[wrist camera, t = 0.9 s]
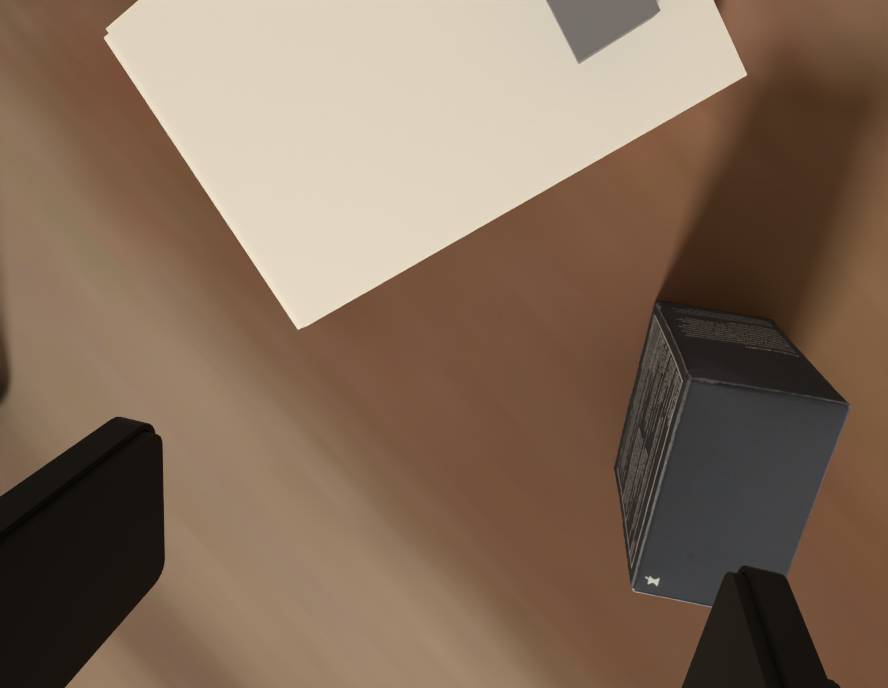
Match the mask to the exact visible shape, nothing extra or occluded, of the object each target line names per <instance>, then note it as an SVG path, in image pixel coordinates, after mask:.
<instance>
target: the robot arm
mask: <svg viewBox="0 0 888 688" xmlns="http://www.w3.org/2000/svg"><path fill="white" fill-rule="evenodd" d="M164 561H165V548H164V498H163V448H162V439H161V437H160V436H159V435H157V434H155V430H154V428H153V426H152V425H150V424H148V423H144V422H140V421H136V420H132V419H127V418H123V417H115V418H113V419H111V420H110V421H108V422H107V423H105V424H104V425H102V426H101V427H100V428H98V429H97V430H95V431H94V432H92V433H91V434H90V435H88V436H87V437H85V438H84V439H82V440H81V441H79V442H78V443H77V444H75V445H74V446H72V447H71V448H69V449H68V450H67V451H65V452H64V453H62V454H61V455H59V456H58V457H57V458H55V459H54V460H52V461H51V462H49V463H48V464H46V465H45V466H44V467H42V468H41V469H39V470H38V471H36V472H35V473H34V474H32V475H31V476H29V477H28V478H26V479H25V480H24V481H22V482H21V483H19V484H18V485H16V486H15V487H13V488H12V489H11V490H9V491H8V492H6V493H5V494H3V495H2V496H1V497H0V688H65V687H66V685H67V684H68V683H69V682H70V681H71V680H72V679H73V677H74V676H75V675H76V674H77V673H78V672H79V671H80V669H81V668H82V667H83V666H84V665H85V664H86V663H87V661H88V660H89V659H90V658H91V657H92V656H93V654H94V653H95V652H96V651H97V650H98V649H99V648H100V646H101V645H102V644H103V643H104V642H105V641H106V640H107V638H108V637H109V636H110V635H111V634H112V633H113V631H114V630H115V629H116V628H117V627H118V626H119V625H120V623H121V622H122V621H123V620H124V619H125V618H126V617H127V615H128V614H129V613H130V612H131V611H132V610H133V609H134V607H135V606H136V605H137V604H138V603H139V602H140V600H141V599H142V598H143V597H144V596H145V595H146V594H147V592H148V591H149V590H150V589H151V588H152V587H153V586H154V584H155V583H156V582H157V580H158V579H159V577H160V575H161V573H162V570H163V567H164ZM682 688H840V686H839V685H838V684H837V683H835V682H834V681H833V680H830V679H827V676H826V674H825V671H824V669H823V666H822V664H821V661H820V659H819V656H818V654H817V652H816V649H815V647H814V644H813V642H812V639H811V637H810V634H809V632H808V629H807V627H806V625H805V622H804V620H803V617H802V615H801V612H800V610H799V607H798V605H797V602H796V600H795V598H794V595H793V593H792V590H791V588H790V585H789V583H788V580H787V579H786V577H785V576H784V575H782V574H780V573H776V572H772V571H767V570H763V569H759V568H755V567H750V566H746V565H744V566H741V568H740V569H739V570H738V572H737V573H734V572H730V571H729V572H727V573H726V574H725V576H724V578H723V580H722V583H721V585H720V588H719V591H718V593H717V596H716V599H715V601H714V604H713V607H712V609H711V612H710V614H709V617H708V620H707V622H706V625H705V628H704V630H703V633H702V636H701V638H700V641H699V644H698V646H697V649H696V652H695V654H694V657H693V659H692V662H691V665H690V667H689V670H688V673H687V675H686V678H685V681H684V683H683V686H682Z"/></svg>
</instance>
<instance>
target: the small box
mask: <svg viewBox="0 0 888 688" xmlns="http://www.w3.org/2000/svg"><path fill="white" fill-rule="evenodd" d="M850 408H851V407H850V404H849V403H848V402H847V401H846V400H844V398H843V397H842V396H841V395H840V394H839V393H838V392H837V391H836V390H835V389H834V388H833V387H832V386H831V384H830V383H829V382H828V381H827V380H826V379H825V378H824V377H823V376H822V375H821V373H819V371H818V370H817V369H816V368H815V367H814V366H813V365H812V364H811V363H810V362H809V361H808V359H807V358H806V357H805V356H804V355H803V354H802V353H801V352H800V351H799V349H798V348H797V347H796V346H795V345H794V344H793V343H792V342H791V341H790V339H789V338H788V337H787V336H786V335H785V334H784V333H783V332H782V331H781V329H780V328H779V327H778V326H777V325H776V323H775V322H774V321H773V320H769V319H764V318H758V317H753V316H747V315H742V314H735V313H729V312H722V311H717V310H711V309H704V308H698V307H691V306H686V305H680V304H674V303H668V302H657V303H655V305H654V308H653V313H652V317H651V320H650V324H649V328H648V332H647V336H646V341H645V344H644V349H643V353H642V356H641V360H640V362H639V369H638V373H637V376H636V381H635V385H634V389H633V393H632V396H631V401H630V405H629V407H628V412H627V416H626V421H625V425H624V429H623V433H622V437H621V441H620V446H619V450H618V455H617V459H616V464H615V467H614V471H615V475H616V482H617V486H618V492H619V497H620V505H621V513H622V518H623V529H624V538H625V544H626V553H627V559H628V569H629V575H630V583H631V589H632V590H633V591H634V592H637V593H642V594H648V595H653V596H659V597H663V598H668V599H674V600H678V601H682V602H688V603H693V604H698V605H703V606H707V607H713V604H714V601H715V599H716V596H717V593H718V591H719V588H720V585H721V583H722V580H723V578H724V576H725V574H726V573H727V572H729V571H730V572H734V573H737V572H738V570H739V569H740V568H741V566H744V565H746V566H750V567H755V568H759V569H763V570H767V571H772V572H776V573H780V574H782V575H784V576H785V577H786V579H787V576H788V573H789V570H790V568H791V565H792V562H793V559H794V557H795V554H796V551H797V549H798V546H799V543H800V541H801V538H802V535H803V532H804V530H805V527H806V524H807V522H808V519H809V516H810V513H811V511H812V508H813V506H814V503H815V500H816V498H817V495H818V492H819V490H820V487H821V484H822V482H823V479H824V477H825V474H826V471H827V469H828V466H829V463H830V461H831V458H832V455H833V453H834V450H835V448H836V445H837V442H838V440H839V437H840V435H841V432H842V429H843V426H844V424H845V422H846V419H847V416H848V414H849V411H850Z"/></svg>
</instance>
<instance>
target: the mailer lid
mask: <svg viewBox="0 0 888 688" xmlns="http://www.w3.org/2000/svg"><path fill="white" fill-rule="evenodd" d="M106 30H107V31H108V33H109V34H108V35H106V36H105V37H104V39H105V41H106V42H107V44H108V45H109V47H110V48H111V50H112V51H113V53H114V54H115V56H116V57H117V59H118V60H119V62H120V63H121V65H122V66H123V68H124V69H125V71H126V72H127V74H128V75H129V77H130V78H131V80H132V81H133V83H134V84H135V86H136V87H137V89H138V90H139V92H140V93H141V95H142V96H143V98H144V99H145V101H146V102H147V104H148V105H149V107H150V108H151V110H152V111H153V113H154V114H155V116H156V117H157V119H158V120H159V122H160V123H161V125H162V126H163V128H164V129H165V131H166V132H167V134H168V135H169V137H170V138H171V140H172V141H173V143H174V144H175V146H176V147H177V149H178V150H179V152H180V153H181V155H182V156H183V158H184V159H185V161H186V162H187V164H188V165H189V167H190V168H191V170H192V171H193V173H194V174H195V176H196V177H197V179H198V180H199V182H200V183H201V185H202V186H203V188H204V189H205V191H206V192H207V194H208V195H209V197H210V198H211V200H212V201H213V203H214V204H215V206H216V207H217V209H218V210H219V212H220V213H221V215H222V216H223V218H224V219H225V221H226V222H227V224H228V225H229V227H230V228H231V230H232V231H233V233H234V234H235V236H236V237H237V239H238V240H239V242H240V243H241V245H242V246H243V248H244V249H245V251H246V252H247V254H248V255H249V257H250V258H251V260H252V261H253V263H254V265H255V266H256V268H257V269H258V271H259V272H260V274H261V275H262V277H263V278H264V280H265V281H266V283H267V284H268V286H269V287H270V289H271V290H272V292H273V293H274V295H275V296H276V298H277V299H278V301H279V302H280V304H281V305H282V307H283V308H284V310H285V311H286V313H287V314H288V316H289V317H290V319H291V320H292V322H293V323H294V325H295V326H296V328H297V329H298V330H299V329H300V328H302V327H306V326H308V325H309V324H311V323H313V322H315V321H316V320H318V319H320V318H322V317H323V316H325V315H327V314H329V313H331V312H332V311H334V310H336V309H338V308H339V307H341V306H343V305H345V304H346V303H348V302H350V301H352V300H353V299H355V298H357V297H359V296H360V295H362V294H364V293H366V292H367V291H369V290H371V289H373V288H374V287H376V286H378V285H380V284H381V283H383V282H385V281H387V280H388V279H390V278H392V277H394V276H395V275H397V274H399V273H401V272H402V271H404V270H406V269H408V268H409V267H411V266H413V265H415V264H416V263H418V262H420V261H422V260H423V259H425V258H427V257H429V256H430V255H432V254H434V253H436V252H438V251H439V250H441V249H443V248H445V247H446V246H448V245H450V244H452V243H453V242H455V241H457V240H459V239H460V238H462V237H464V236H466V235H467V234H469V233H471V232H473V231H474V230H476V229H478V228H480V227H481V226H483V225H485V224H487V223H488V222H490V221H492V220H494V219H495V218H497V217H499V216H501V215H502V214H504V213H506V212H508V211H509V210H511V209H513V208H515V207H516V206H518V205H520V204H522V203H523V202H525V201H527V200H529V199H530V198H532V197H534V196H536V195H537V194H539V193H541V192H543V191H545V190H546V189H548V188H550V187H552V186H553V185H555V184H557V183H559V182H560V181H562V180H564V179H566V178H567V177H569V176H571V175H573V174H574V173H576V172H578V171H580V170H581V169H583V168H585V167H587V166H588V165H590V164H592V163H594V162H595V161H597V160H599V159H601V158H602V157H604V156H606V155H608V154H609V153H611V152H613V151H615V150H616V149H618V148H620V147H622V146H623V145H625V144H627V143H629V142H630V141H632V140H634V139H636V138H637V137H639V136H641V135H643V134H644V133H646V132H648V131H650V130H652V129H653V128H655V127H657V126H659V125H660V124H662V123H664V122H666V121H667V120H669V119H671V118H673V117H674V116H676V115H678V114H680V113H681V112H683V111H685V110H687V109H688V108H690V107H692V106H694V105H695V104H697V103H699V102H701V101H702V100H704V99H706V98H708V97H709V96H711V95H713V94H715V93H716V92H718V91H720V90H722V89H723V88H725V87H727V86H729V85H730V84H732V83H734V82H736V81H737V80H739V79H741V78H743V77H744V76H746V75H747V73H746V71H745V69H744V67H743V64H742V62H741V60H740V58H739V56H738V53H737V51H736V49H735V47H734V45H733V42H732V40H731V38H730V36H729V34H728V31H727V29H726V27H725V25H724V22H723V20H722V18H721V16H720V14H719V11H718V9H717V7H716V5H715V3H714V0H138V1H137V2H136V3H135V4H134V5H132V6H131V7H130V8H129V9H128V10H127V11H126V12H124V13H123V14H122V15H121V16H120V17H119V18H117V19H116V20H115V21H114V22H113V23H112V24H111V25H109V26H108V27H107V28H106Z"/></svg>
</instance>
